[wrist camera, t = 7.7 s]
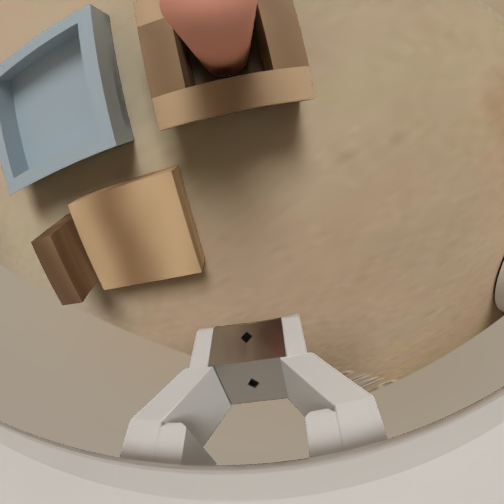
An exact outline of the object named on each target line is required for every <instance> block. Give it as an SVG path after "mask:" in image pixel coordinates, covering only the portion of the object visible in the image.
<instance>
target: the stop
mask: <svg viewBox="0 0 504 504" xmlns="http://www.w3.org/2000/svg"><path fill="white" fill-rule="evenodd" d="M31 243H32V245H33V248H34V250H35V252H36V254H37V257H38V259H39V261H40V263H41V265H42V267H43V269H44V271H45V273H46V275H47V277H48V279H49V281H50V283H51V285H52V287H53V289H54V291H55V292H56V294H57V296H58V298H59V300H60V301H61V303H62V305H67V304H74V303H81V302H83V301H84V299H85V298H86V296H87V295H88V293H89V292H90V290H91V289H92V287H93V286H94V284H95V283H96V282H97V280H98V277H97V275H96V272H95V270H94V268H93V266H92V264H91V262H90V259H89V257H88V255H87V253H86V250H85V248H84V246H83V243H82V241H81V238H80V236H79V233H78V231H77V228H76V226H75V223H74V221H73V218H72V215H71V213H70V214H67V215H66V216H64V217H63V218H62V219H60V220H59V221H58V222H56V223H55V224H54V225H52V226H51V227H50V228H48V229H47V230H46V231H45V232H43V233H42V234H41V235H40V236H38V237H37V238H36V239H35V240H34V241H32V242H31Z"/></svg>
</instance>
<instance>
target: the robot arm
mask: <svg viewBox="0 0 504 504" xmlns="http://www.w3.org/2000/svg"><path fill="white" fill-rule="evenodd" d="M495 303H496V306H497V308H498V309H500V310H501V311H503V312H504V262H503V264H502V267H501V270H500V273H499V276H498V279H497V284H496V289H495ZM281 319H282V320H281ZM284 398H289V400H290V401H291V402H292V403H293V404H294V406H295V407H296V408H297V409H298V410H299V411H300V412H301V413H302V414H303V415H304V416H305V421H306V429H307V438H308V447H309V455H310V458H305V459H298V460H291V461H283V462H274V463H263V464H249V465H221V466H216V462H215V461H214V460H213V459H212V458H211V456H210V455H209V454H208V453H207V452H206V451H205V450H204V448H203V446H204V445H205V443H206V442H207V440H208V439H209V438H210V436H211V435H212V434H213V432H214V431H215V429H216V428H217V426H218V425H219V424H220V422H221V421H222V419H223V418H224V416H225V415H226V413H227V412H228V411H229V409H230V407H231V405H232V404H241V403H249V402H257V401H266V400H276V399H284ZM0 504H504V387H502V388H500V389H499V390H497V391H495V392H494V393H492V394H490V395H488V396H487V397H485V398H483V399H481V400H479V401H477V402H476V403H474V404H472V405H470V406H468V407H466V408H464V409H462V410H460V411H458V412H456V413H453V414H451V415H449V416H447V417H445V418H442V419H440V420H438V421H436V422H433V423H431V424H428V425H426V426H423V427H421V428H418V429H415V430H413V431H410V432H407V433H404V434H402V435H399V436H396V437H393V438H390V439H387V435H386V432H385V429H384V426H383V423H382V420H381V417H380V414H379V411H378V408H377V405H376V402H375V399H374V396H372V395H371V394H370V393H368V392H367V391H365V390H364V389H363V388H361V387H360V386H358V385H357V384H355V383H354V382H353V381H351V380H350V379H348V378H347V377H346V376H344V375H343V374H342V373H340V372H339V371H337V370H336V369H335V368H333V367H332V366H331V365H329V364H328V363H326V362H325V361H324V360H322V359H321V358H320V357H318V356H317V355H316V354H314V353H313V352H311V353H307V349H306V344H305V339H304V335H303V330H302V325H301V321H300V316H299V314H293V315H288V316H283V317H280V318H275V319H269V320H263V321H257V322H251V323H242V324H234V325H226V326H217V327H210V328H200V329H199V330H198V331H197V332H196V337H195V341H194V346H193V350H192V355H191V360H190V364H189V368H187V369H183V370H182V371H181V372H180V373H179V374H178V375H177V376H176V377H175V378H174V379H173V380H172V381H171V382H170V383H169V384H168V385H167V386H166V387H164V388H163V389H162V391H160V392H159V393H158V394H157V395H156V396H155V397H154V398H153V399H152V400H151V401H150V402H149V403H148V404H147V405H145V406H144V407H143V408H142V409H141V410H140V411H139V412H138V413H137V414H136V415H135V416H134V417H133V418H132V419H131V420H130V424H129V427H128V430H127V434H126V437H125V440H124V444H123V447H122V451H121V454H120V457H114V456H108V455H104V454H99V453H95V452H90V451H86V450H82V449H78V448H74V447H70V446H67V445H64V444H60V443H57V442H54V441H50V440H47V439H44V438H41V437H38V436H36V435H33V434H30V433H28V432H25V431H22V430H20V429H17V428H15V427H12V426H10V425H8V424H6V423H3V422H1V421H0Z"/></svg>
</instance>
